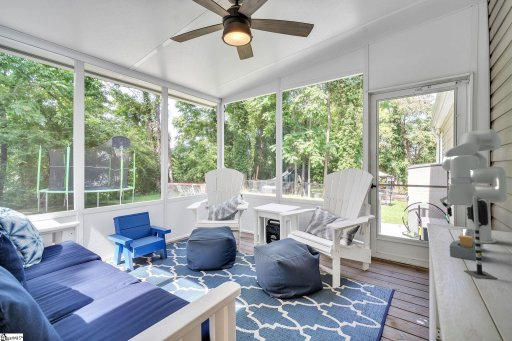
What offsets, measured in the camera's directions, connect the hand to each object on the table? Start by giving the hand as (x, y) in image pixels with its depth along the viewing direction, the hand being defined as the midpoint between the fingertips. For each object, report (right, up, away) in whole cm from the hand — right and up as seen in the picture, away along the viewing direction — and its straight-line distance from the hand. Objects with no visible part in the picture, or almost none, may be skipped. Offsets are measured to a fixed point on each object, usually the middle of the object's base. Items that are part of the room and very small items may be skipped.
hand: (463, 217), depth 115 cm
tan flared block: (+1, -18, -1) cm, 18 cm away
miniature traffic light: (-13, -18, -22) cm, 31 cm away
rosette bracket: (+6, -18, +4) cm, 20 cm away
